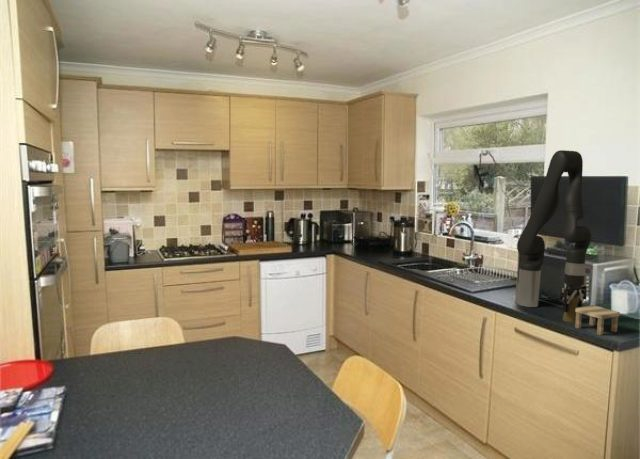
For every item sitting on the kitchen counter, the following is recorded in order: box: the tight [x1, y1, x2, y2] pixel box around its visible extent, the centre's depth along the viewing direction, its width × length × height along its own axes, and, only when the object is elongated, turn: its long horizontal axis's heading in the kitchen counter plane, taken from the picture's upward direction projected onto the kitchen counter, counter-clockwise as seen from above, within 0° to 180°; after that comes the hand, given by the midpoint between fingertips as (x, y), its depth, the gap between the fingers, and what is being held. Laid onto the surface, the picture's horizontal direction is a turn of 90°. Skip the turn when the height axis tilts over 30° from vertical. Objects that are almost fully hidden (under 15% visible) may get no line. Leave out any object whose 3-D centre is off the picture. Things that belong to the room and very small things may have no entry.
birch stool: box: [574, 304, 621, 336], centre depth 186 cm, size 11×11×8 cm
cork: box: [562, 295, 579, 324], centre depth 198 cm, size 6×6×11 cm
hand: (572, 310), depth 197 cm, fingers open, 8 cm apart
